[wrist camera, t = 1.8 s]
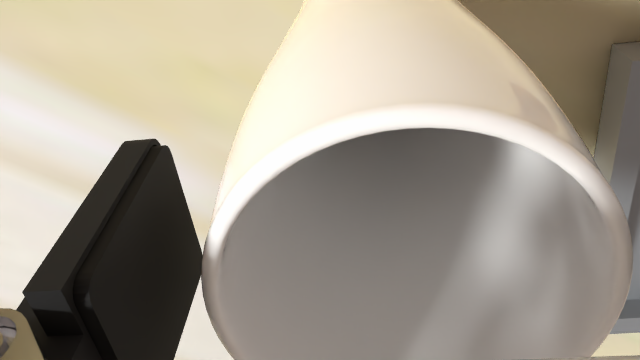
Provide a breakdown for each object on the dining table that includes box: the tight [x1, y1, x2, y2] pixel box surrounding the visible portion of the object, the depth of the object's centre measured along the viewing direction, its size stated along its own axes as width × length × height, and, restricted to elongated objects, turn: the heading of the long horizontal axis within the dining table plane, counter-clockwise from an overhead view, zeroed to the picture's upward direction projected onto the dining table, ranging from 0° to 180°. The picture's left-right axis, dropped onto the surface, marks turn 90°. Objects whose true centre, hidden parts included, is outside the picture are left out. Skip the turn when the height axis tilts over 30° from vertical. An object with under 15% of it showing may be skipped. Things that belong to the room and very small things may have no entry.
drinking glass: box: [201, 0, 633, 360], centre depth 15 cm, size 7×7×15 cm
